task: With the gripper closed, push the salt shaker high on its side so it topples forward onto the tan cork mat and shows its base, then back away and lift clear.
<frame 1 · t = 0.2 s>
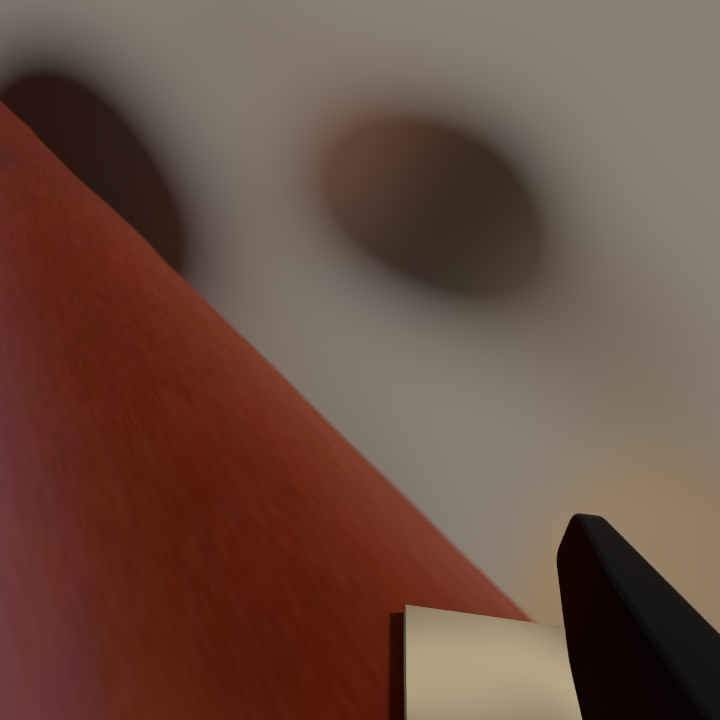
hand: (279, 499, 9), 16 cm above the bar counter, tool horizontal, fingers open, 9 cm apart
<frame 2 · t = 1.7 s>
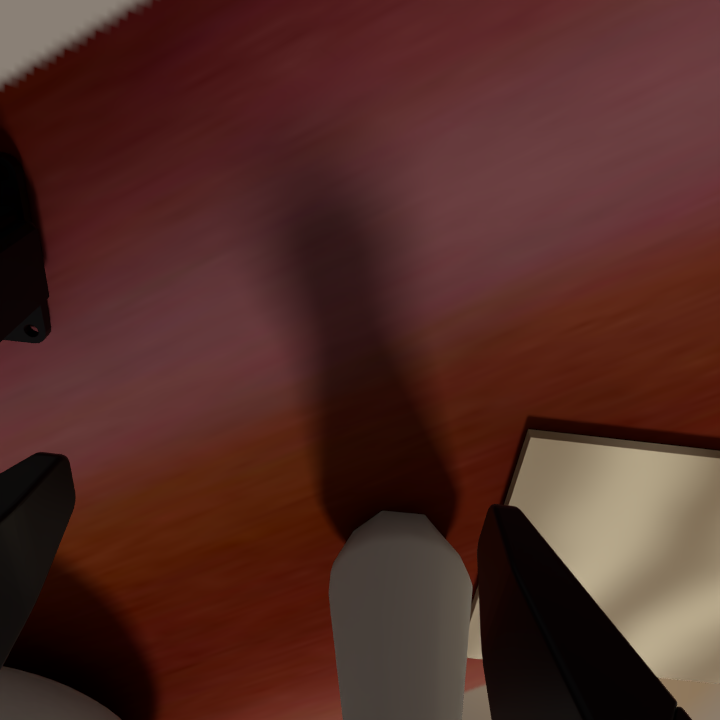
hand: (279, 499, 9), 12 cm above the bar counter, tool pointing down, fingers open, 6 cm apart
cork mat: (643, 569, 27), on the bar counter
salt shaker: (398, 539, 27), on the bar counter
serving bowl: (21, 711, 36), on the bar counter
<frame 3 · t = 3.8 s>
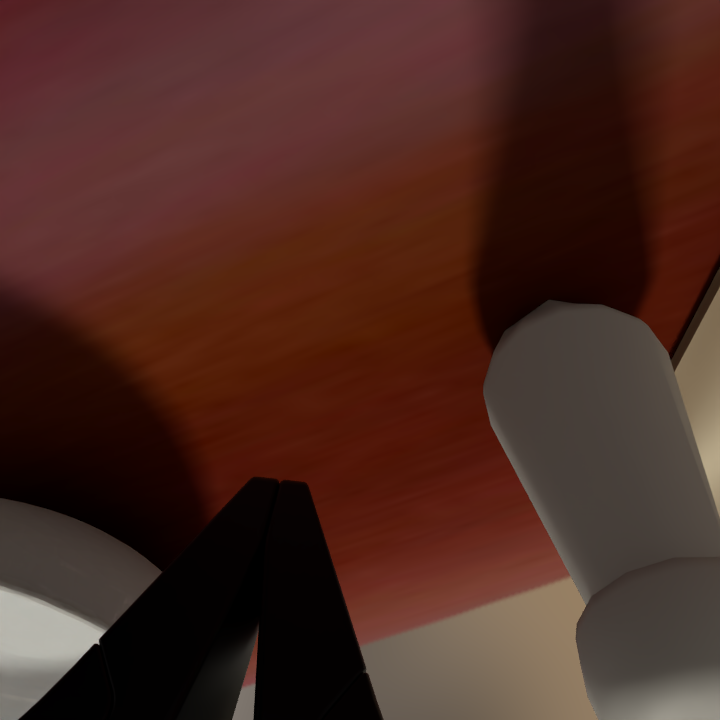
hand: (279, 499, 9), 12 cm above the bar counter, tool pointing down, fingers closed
salt shaker: (556, 348, 22), on the bar counter
serving bowl: (43, 586, 30), on the bar counter
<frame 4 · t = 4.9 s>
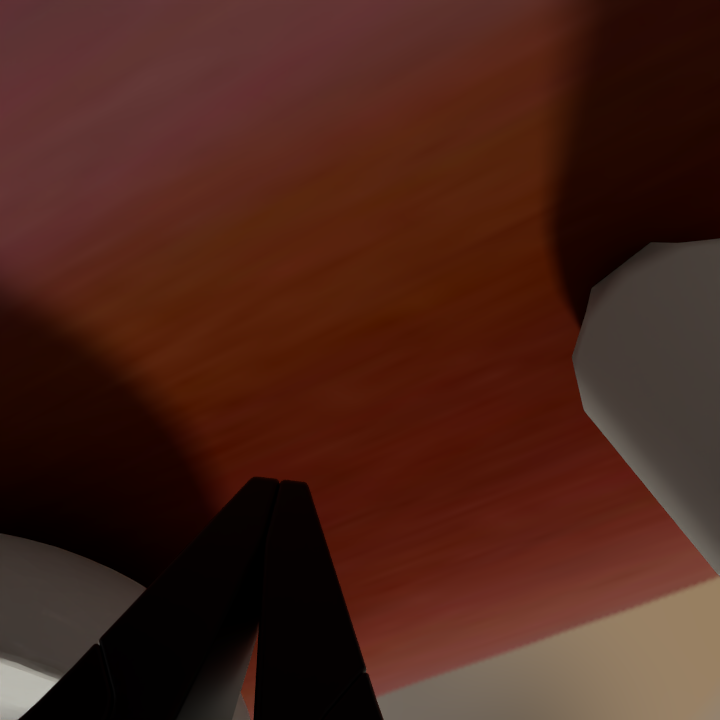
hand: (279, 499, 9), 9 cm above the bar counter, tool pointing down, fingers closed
salt shaker: (658, 307, 17), on the bar counter
serving bowl: (44, 627, 26), on the bar counter
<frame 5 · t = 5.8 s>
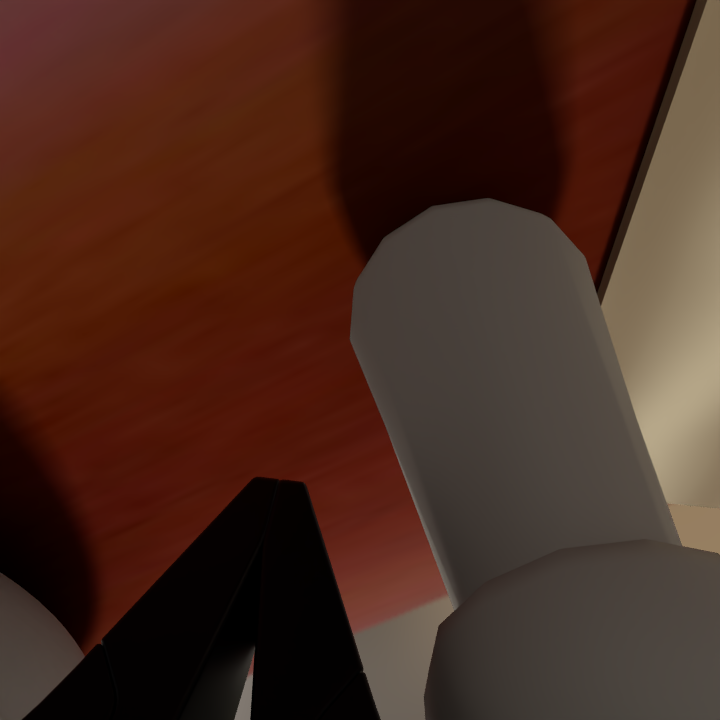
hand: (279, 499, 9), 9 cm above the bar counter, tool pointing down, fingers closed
salt shaker: (452, 274, 17), on the bar counter, touching gripper
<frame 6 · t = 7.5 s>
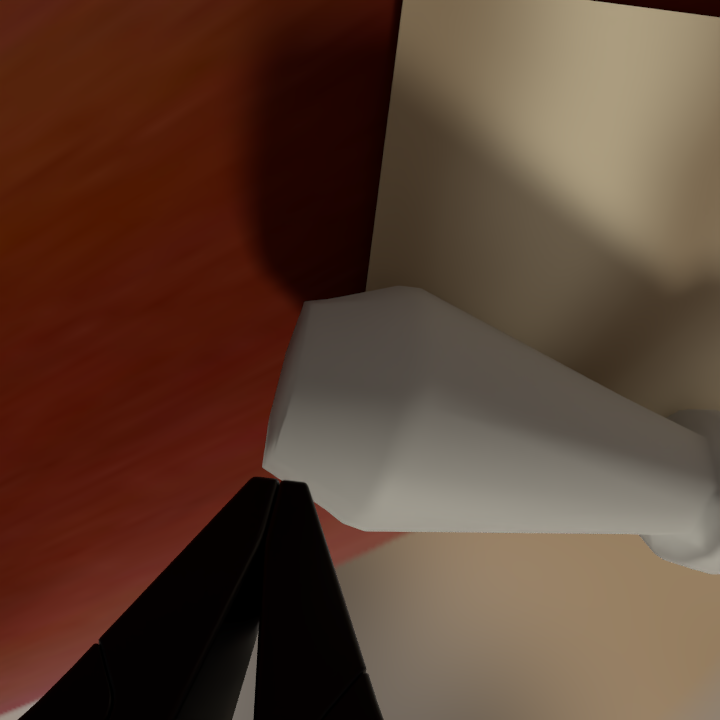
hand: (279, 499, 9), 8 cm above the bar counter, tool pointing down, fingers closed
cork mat: (621, 309, 17), on the bar counter
salt shaker: (277, 378, 14), point 4 cm above the bar counter, touching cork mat
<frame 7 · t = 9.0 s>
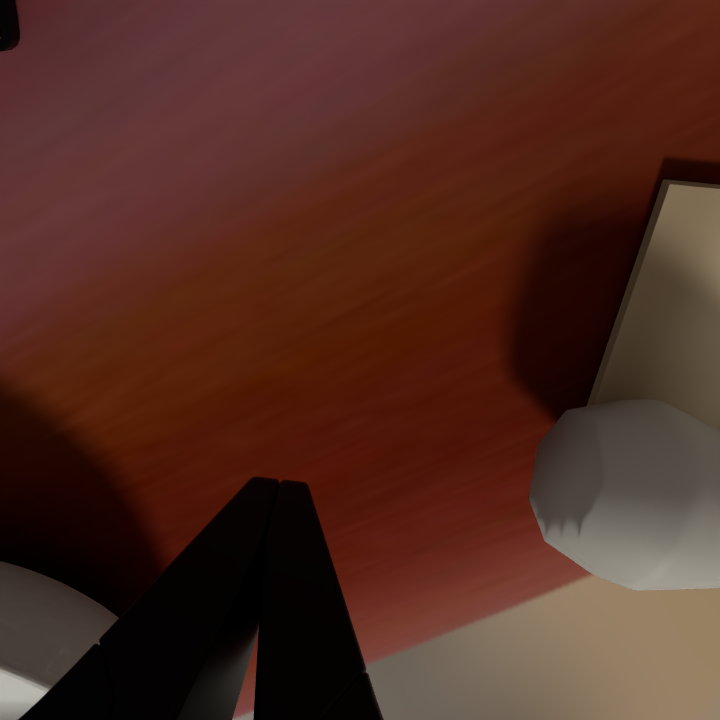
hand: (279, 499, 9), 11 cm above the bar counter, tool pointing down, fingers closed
salt shaker: (557, 473, 18), point 4 cm above the bar counter, touching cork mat
serving bowl: (15, 631, 31), on the bar counter
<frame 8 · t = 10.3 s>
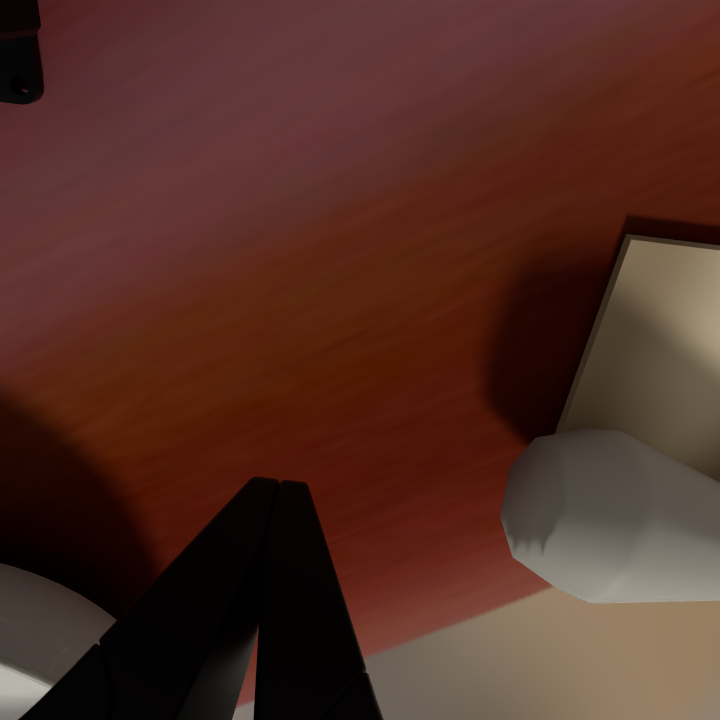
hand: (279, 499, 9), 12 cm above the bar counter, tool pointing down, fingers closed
salt shaker: (525, 496, 20), point 4 cm above the bar counter, touching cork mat
serving bowl: (12, 629, 32), on the bar counter
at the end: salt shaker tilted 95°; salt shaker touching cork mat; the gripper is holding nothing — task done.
